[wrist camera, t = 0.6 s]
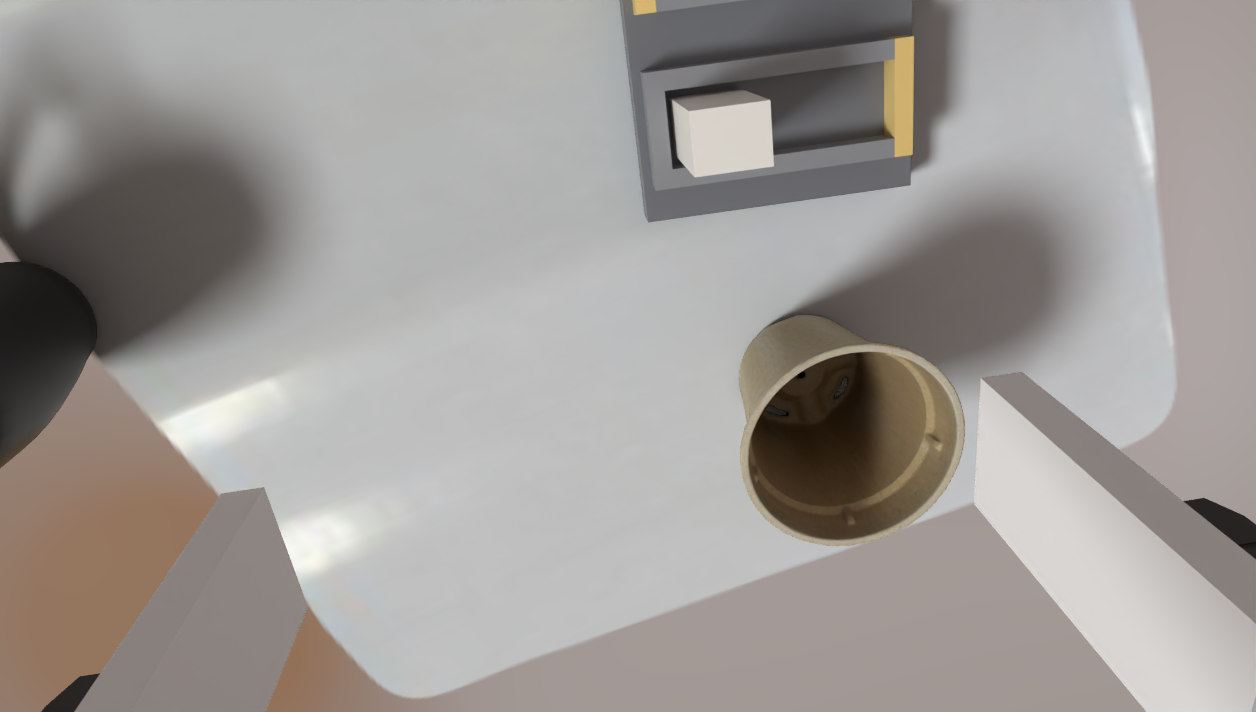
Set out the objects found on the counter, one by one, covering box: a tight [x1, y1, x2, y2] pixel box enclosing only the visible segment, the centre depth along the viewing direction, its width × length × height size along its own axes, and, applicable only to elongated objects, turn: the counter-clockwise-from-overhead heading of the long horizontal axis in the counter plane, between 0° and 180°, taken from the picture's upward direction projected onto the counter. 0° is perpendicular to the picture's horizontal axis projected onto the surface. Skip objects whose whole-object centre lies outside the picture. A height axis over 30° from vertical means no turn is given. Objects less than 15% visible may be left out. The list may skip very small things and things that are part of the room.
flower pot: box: [739, 315, 965, 546], centre depth 38 cm, size 9×9×9 cm
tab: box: [670, 88, 774, 177], centre depth 33 cm, size 2×3×6 cm
